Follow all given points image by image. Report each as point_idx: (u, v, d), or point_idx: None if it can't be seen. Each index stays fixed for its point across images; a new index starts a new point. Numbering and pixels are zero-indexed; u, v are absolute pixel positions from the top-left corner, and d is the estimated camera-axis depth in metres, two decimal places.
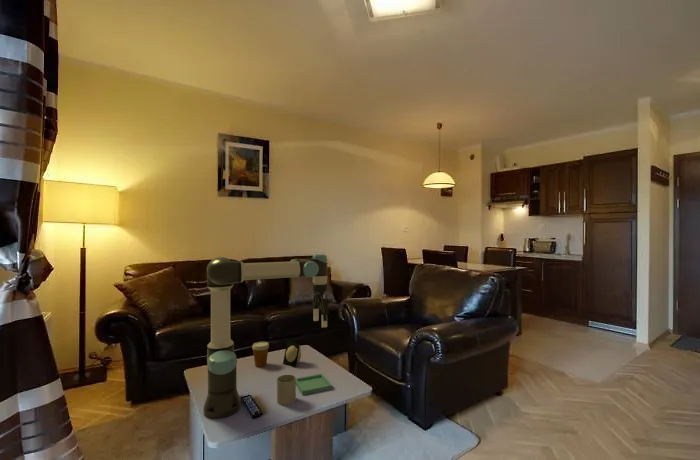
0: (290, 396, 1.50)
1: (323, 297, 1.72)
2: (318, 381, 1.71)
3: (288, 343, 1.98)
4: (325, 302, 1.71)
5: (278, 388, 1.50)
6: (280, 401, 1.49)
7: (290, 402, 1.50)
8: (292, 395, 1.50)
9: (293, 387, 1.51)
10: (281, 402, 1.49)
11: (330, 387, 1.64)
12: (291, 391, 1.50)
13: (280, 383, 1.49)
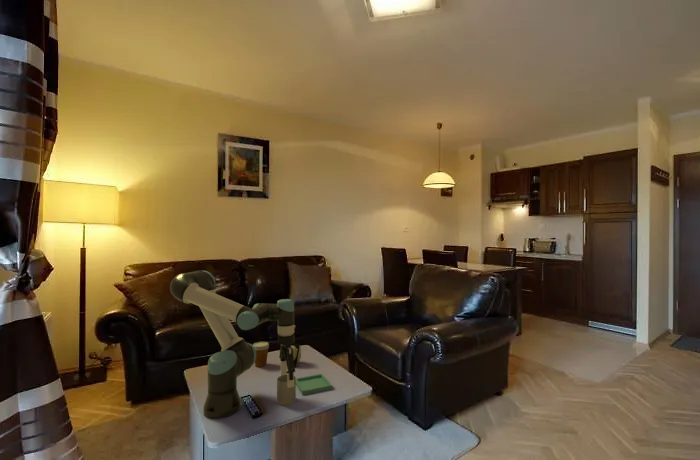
0: (290, 396, 1.50)
1: (289, 352, 1.47)
2: (318, 381, 1.71)
3: None
4: (291, 358, 1.46)
5: (278, 388, 1.50)
6: (280, 401, 1.49)
7: (290, 402, 1.50)
8: (292, 395, 1.50)
9: (293, 387, 1.51)
10: (281, 402, 1.49)
11: (330, 387, 1.64)
12: (291, 391, 1.50)
13: (280, 383, 1.49)
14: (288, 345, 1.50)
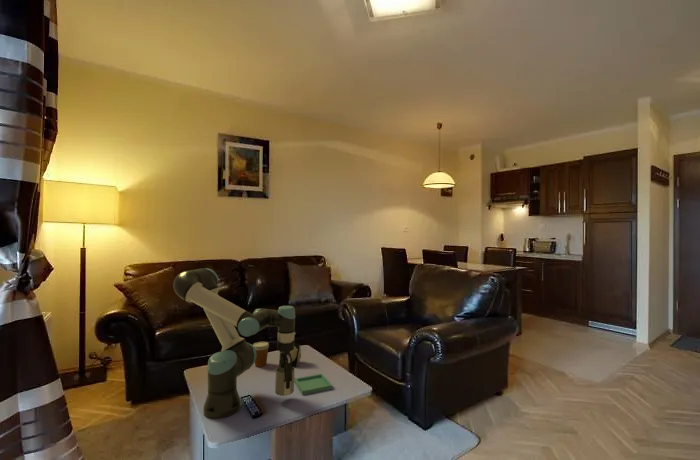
0: None
1: (288, 361, 1.47)
2: (318, 381, 1.71)
3: None
4: (289, 367, 1.47)
5: (277, 378, 1.50)
6: (278, 391, 1.49)
7: None
8: (290, 386, 1.51)
9: (292, 378, 1.51)
10: (279, 392, 1.49)
11: (330, 387, 1.64)
12: None
13: (279, 373, 1.49)
14: (287, 352, 1.50)
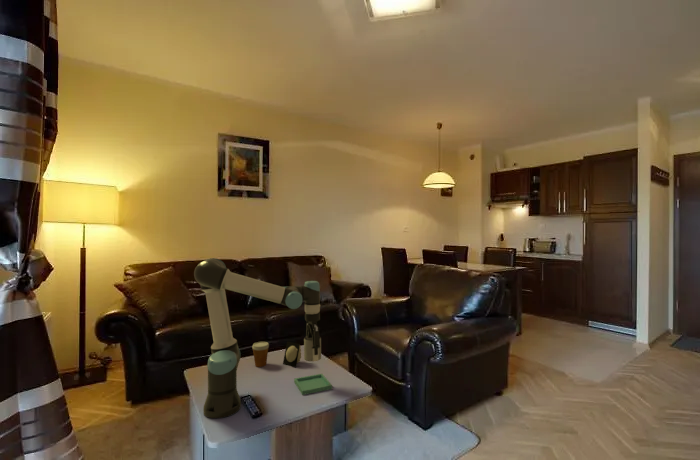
0: None
1: (315, 330, 1.62)
2: (318, 381, 1.71)
3: (288, 343, 1.98)
4: (317, 335, 1.62)
5: (305, 346, 1.65)
6: (307, 358, 1.64)
7: None
8: (318, 353, 1.65)
9: None
10: (308, 359, 1.64)
11: (330, 387, 1.64)
12: None
13: (307, 341, 1.64)
14: (314, 322, 1.65)
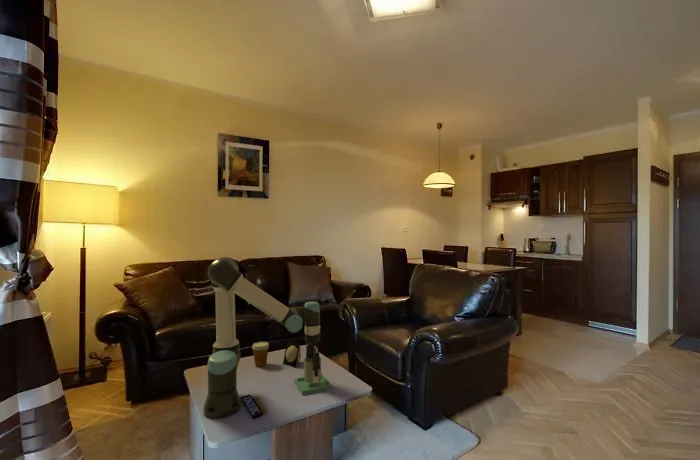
0: None
1: (315, 351, 1.62)
2: None
3: (288, 343, 1.98)
4: (317, 357, 1.62)
5: (305, 367, 1.65)
6: (307, 379, 1.64)
7: None
8: (318, 374, 1.65)
9: None
10: (308, 380, 1.64)
11: (330, 387, 1.64)
12: None
13: (307, 363, 1.64)
14: (314, 343, 1.65)
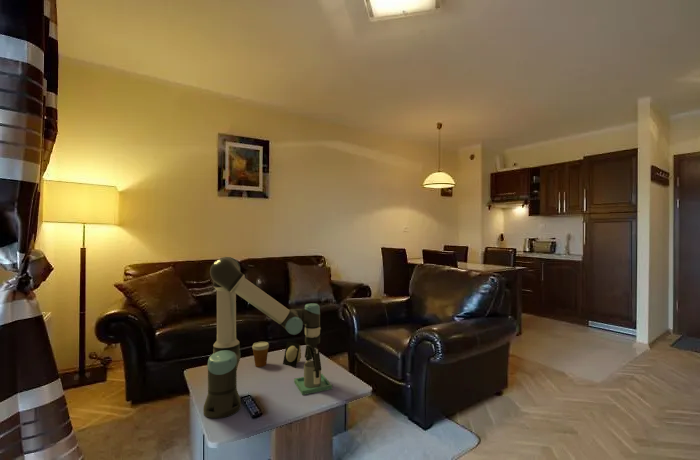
0: None
1: (315, 352, 1.61)
2: None
3: (288, 343, 1.98)
4: (318, 357, 1.61)
5: (305, 373, 1.65)
6: (307, 384, 1.64)
7: (316, 385, 1.64)
8: None
9: None
10: (308, 385, 1.64)
11: (330, 387, 1.64)
12: None
13: (307, 368, 1.64)
14: (314, 345, 1.65)
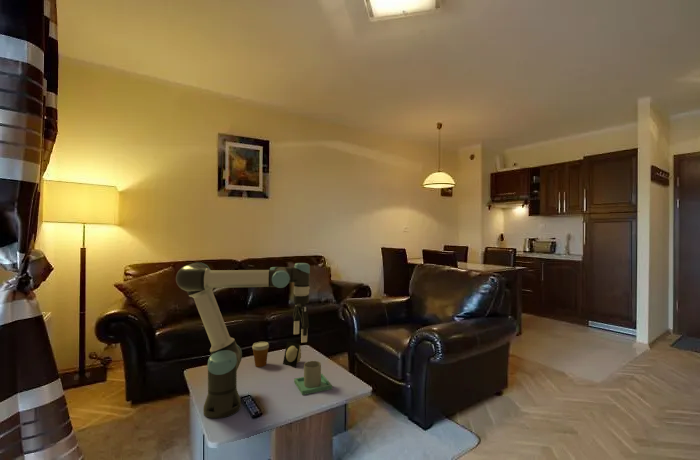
0: (316, 380, 1.64)
1: (304, 310, 1.59)
2: None
3: (288, 343, 1.98)
4: (306, 315, 1.58)
5: (305, 373, 1.65)
6: (307, 384, 1.64)
7: (316, 385, 1.64)
8: (318, 379, 1.65)
9: (319, 372, 1.66)
10: (308, 385, 1.64)
11: (330, 387, 1.64)
12: (317, 375, 1.65)
13: (307, 368, 1.64)
14: (303, 304, 1.62)
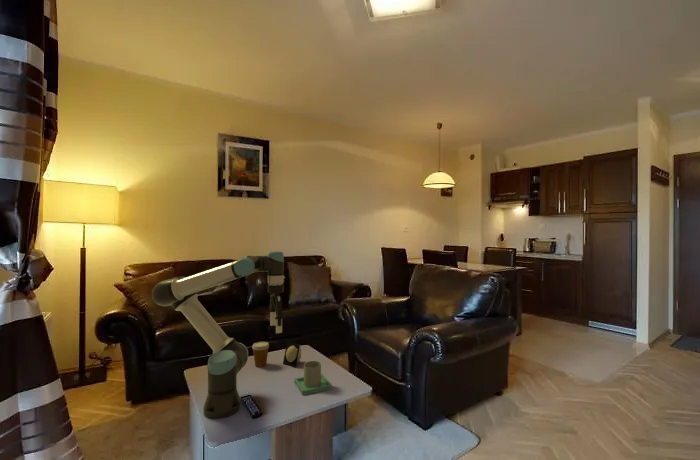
0: (316, 380, 1.64)
1: (277, 299, 1.53)
2: None
3: (288, 343, 1.98)
4: (279, 305, 1.52)
5: (305, 373, 1.65)
6: (307, 384, 1.64)
7: (316, 385, 1.64)
8: (318, 379, 1.65)
9: (319, 372, 1.66)
10: (308, 385, 1.64)
11: (330, 387, 1.64)
12: (317, 375, 1.65)
13: (307, 368, 1.64)
14: (277, 294, 1.56)
